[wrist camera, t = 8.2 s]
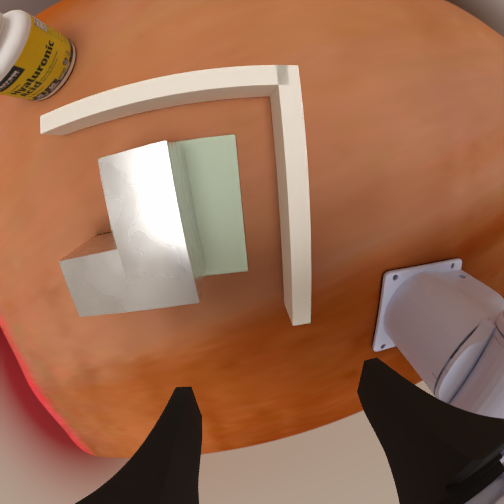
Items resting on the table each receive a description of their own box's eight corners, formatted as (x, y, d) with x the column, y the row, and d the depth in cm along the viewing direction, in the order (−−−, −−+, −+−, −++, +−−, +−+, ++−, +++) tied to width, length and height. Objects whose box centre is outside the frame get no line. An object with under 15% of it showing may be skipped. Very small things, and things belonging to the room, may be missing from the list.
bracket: (206, 266, 18) (199, 302, 14) (108, 281, 18) (79, 316, 13) (183, 145, 16) (166, 140, 11) (81, 173, 15) (39, 181, 11)
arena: (286, 79, 15) (297, 65, 12) (299, 301, 20) (310, 322, 17) (63, 119, 14) (40, 116, 11) (103, 318, 19) (89, 340, 16)
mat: (234, 134, 16) (235, 134, 16) (247, 269, 19) (248, 270, 19) (101, 157, 15) (100, 157, 15) (125, 282, 18) (124, 283, 18)
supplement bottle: (44, 114, 14) (-51, 106, 4) (18, 82, 12) (-64, 67, 3) (90, 56, 13) (9, 8, 4) (59, 29, 11) (-12, -12, 2)
